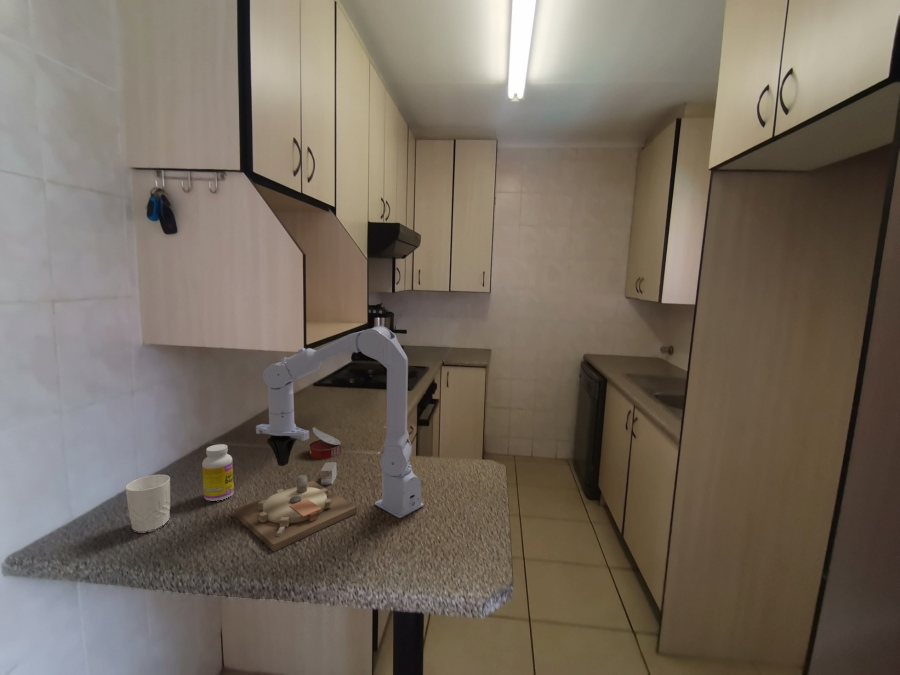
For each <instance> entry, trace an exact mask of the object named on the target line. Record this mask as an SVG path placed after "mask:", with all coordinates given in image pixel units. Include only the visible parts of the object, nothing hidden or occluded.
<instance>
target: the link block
mask: <svg viewBox="0 0 900 675" xmlns="http://www.w3.org/2000/svg"><path fill="white" fill-rule="evenodd" d="M337 467H338V466H337V462H336V461H333V462H332V461H330V462H327V461H326V462H325V463H324V464H323V466H322V468H321V469H320V485H321V486H323V485H328V486H329V485H333V484H334V482H335V480H336V478H337V475H338V474H337V472H338V471H337Z"/></svg>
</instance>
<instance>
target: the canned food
mask: <svg viewBox="0 0 900 675" xmlns="http://www.w3.org/2000/svg"><path fill="white" fill-rule="evenodd" d="M312 432H313V433H314V435H315V436H316V437H317V438H318V440H314V441H313V442H311V443H310V444H309V457H311V458H313V459H319V460H321V459H322V460H323V459H331V458H335V457H337V456H339V455H341V454H342V442H341V441H340V440H339V439H338V438H337V437H334V436H332V435H329V434H328V433H325V432H323V431H322V430H319V429H318V428H316V427H315V426H314V427H312Z"/></svg>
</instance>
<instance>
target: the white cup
mask: <svg viewBox="0 0 900 675" xmlns="http://www.w3.org/2000/svg"><path fill="white" fill-rule="evenodd" d="M124 489H125V494H126V501H127V509H128V514H129V515H128V516H129V519H130V526H131V530H132V529H133V530H136V531H147V530H151V529H156V528H158V527H160V526H162V525H164V524H165V523H166V522H167V521H168V520H169V518H170V517H171V514H170V510H171V477H170V476H169V475H167V474H151V475H146V476H142V477H139V478H137V479H134V480H132V481H130V482H128V483H127V484H126V485H125V488H124ZM170 519H171V518H170ZM169 521H170V520H169ZM133 530H132V531H133Z"/></svg>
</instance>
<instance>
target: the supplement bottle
mask: <svg viewBox="0 0 900 675" xmlns="http://www.w3.org/2000/svg"><path fill="white" fill-rule="evenodd" d="M228 451H229V450H228V445H227V444H223V443H221V444H213V445H210V446H208V447H207V448H206V450H205V454H206V457H205V458H204V459H203V460H202V463H201V464H202V466H201V467H202V468H201V469H202V480H203V481H202V483H203V484H202V486H203V487H202V489H203V499H204V498H205V499H206V500H210V501H215V500H216V501H217V500H222V501H224V500H223V499H225V500H227V499H229V498H231V497H232V496H233V495H234V492H235V491H234V490H235V485H234V466H233V465H234V464H233V463H234V462H233V457H232V455H230V454H228ZM230 496H231V497H230ZM228 497H229V498H228ZM226 498H227V499H226ZM205 499H204V500H205ZM206 500H205V501H206ZM217 502H218V501H217Z"/></svg>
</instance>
